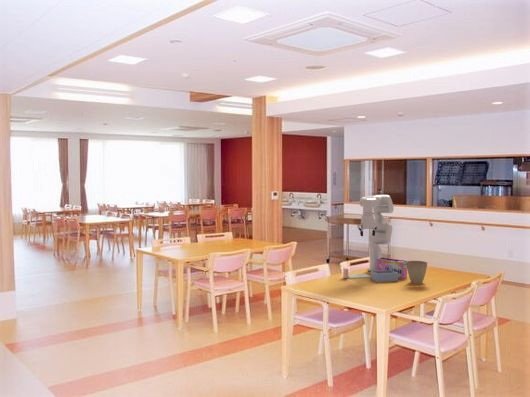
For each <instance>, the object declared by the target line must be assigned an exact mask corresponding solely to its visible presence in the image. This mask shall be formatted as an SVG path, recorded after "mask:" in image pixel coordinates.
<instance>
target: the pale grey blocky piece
mask: <svg viewBox="0 0 530 397" xmlns="http://www.w3.org/2000/svg"><path fill="white" fill-rule="evenodd" d="M342 270H343V273H342V274H343V275H342V278H345V279H350V280H352V279H353V280H354V279H367V278H368V279H369V278H370V279H371V275H369V274H366V273H355V274H354V273H353V274H349V269H348V268H346V267H343V269H342Z"/></svg>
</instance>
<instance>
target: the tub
mask: <svg viewBox="0 0 530 397" xmlns="http://www.w3.org/2000/svg"><path fill="white" fill-rule="evenodd" d="M370 276H371V278H370V280H372V281H374V282H375V283H386V282H398V281H399V278H398V273H397V272H395V271H392V270H382V271H370Z"/></svg>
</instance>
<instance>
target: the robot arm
mask: <svg viewBox="0 0 530 397" xmlns="http://www.w3.org/2000/svg"><path fill="white" fill-rule="evenodd" d="M359 206H360V207H362V215H361V218H360V224H358V225H357V226H356V227H357V229H358V230H359V231H360V233H359V235H360V236H361V237H364V230H369V229H370V230H371V233H370V234H369V236H368V240H369V242H368V243H369V267H368V268H367V270H368V271H369V272H371V271H377V259H380V258H382V248H381V246H383V245H384V246H387V245H390V243H391V239H392V234H393V225H392V224H391V223H389V222H386V218H385V217H384V215H383V214H392V213H393V212H394V204H393V200H392V198H391V196H390V195H388V194H376V195H370V196H362V197H361V198H360V199H359ZM380 245H381V246H380Z"/></svg>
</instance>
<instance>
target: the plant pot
mask: <svg viewBox="0 0 530 397" xmlns="http://www.w3.org/2000/svg"><path fill="white" fill-rule="evenodd" d="M406 261H407V262H406V263H407V275H408V277H409V280H410V283H411V284H416V285H418V284H419V285H420V284H423V282H424V279H425V277H426V273H427V268H428V262H427V261H422V260H406Z"/></svg>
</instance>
